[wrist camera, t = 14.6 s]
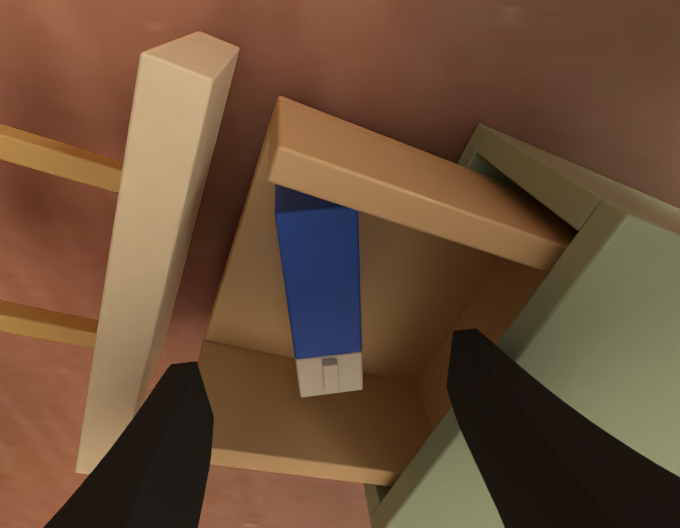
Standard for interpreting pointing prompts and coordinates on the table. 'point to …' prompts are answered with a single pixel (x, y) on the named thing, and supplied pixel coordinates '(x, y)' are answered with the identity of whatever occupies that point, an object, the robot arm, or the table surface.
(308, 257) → the blue usb stick
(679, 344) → the cabinet
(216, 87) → the drawer
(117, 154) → the table surface
